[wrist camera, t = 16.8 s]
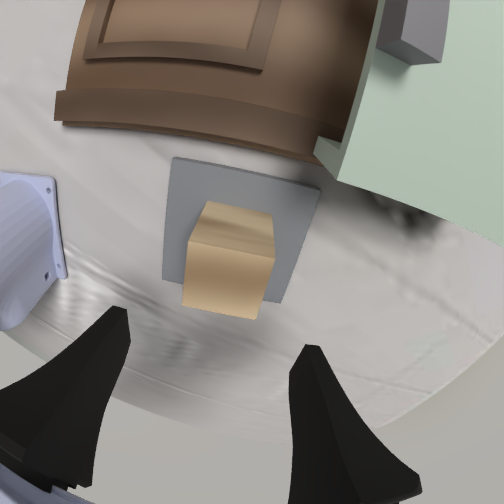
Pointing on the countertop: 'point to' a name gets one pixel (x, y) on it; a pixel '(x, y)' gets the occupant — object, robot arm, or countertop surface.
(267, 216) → the block
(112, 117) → the puzzle board
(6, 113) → the countertop surface
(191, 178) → the mat
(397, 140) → the cover
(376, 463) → the robot arm
